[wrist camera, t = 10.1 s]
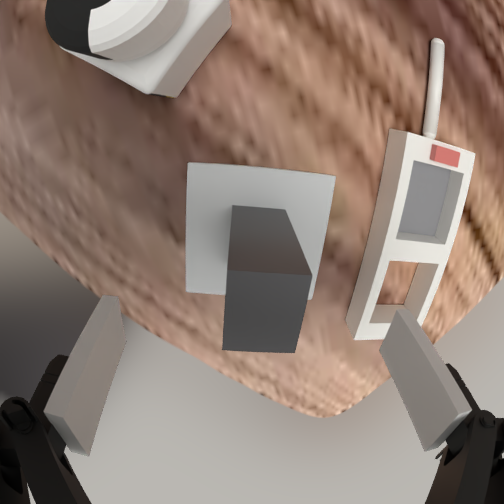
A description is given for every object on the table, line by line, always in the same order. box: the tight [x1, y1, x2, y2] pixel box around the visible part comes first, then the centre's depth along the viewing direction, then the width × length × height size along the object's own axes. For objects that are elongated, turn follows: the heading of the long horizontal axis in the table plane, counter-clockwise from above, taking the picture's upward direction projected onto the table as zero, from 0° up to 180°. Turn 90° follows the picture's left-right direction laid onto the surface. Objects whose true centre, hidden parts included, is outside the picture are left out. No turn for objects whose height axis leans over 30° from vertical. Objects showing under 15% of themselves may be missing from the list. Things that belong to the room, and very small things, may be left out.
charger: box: [222, 205, 313, 353], centre depth 20 cm, size 5×4×10 cm
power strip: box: [345, 38, 475, 340], centre depth 22 cm, size 27×7×4 cm, turn 175°
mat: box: [186, 162, 336, 300], centre depth 25 cm, size 11×11×1 cm
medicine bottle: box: [45, 0, 232, 98], centre depth 13 cm, size 7×7×12 cm
